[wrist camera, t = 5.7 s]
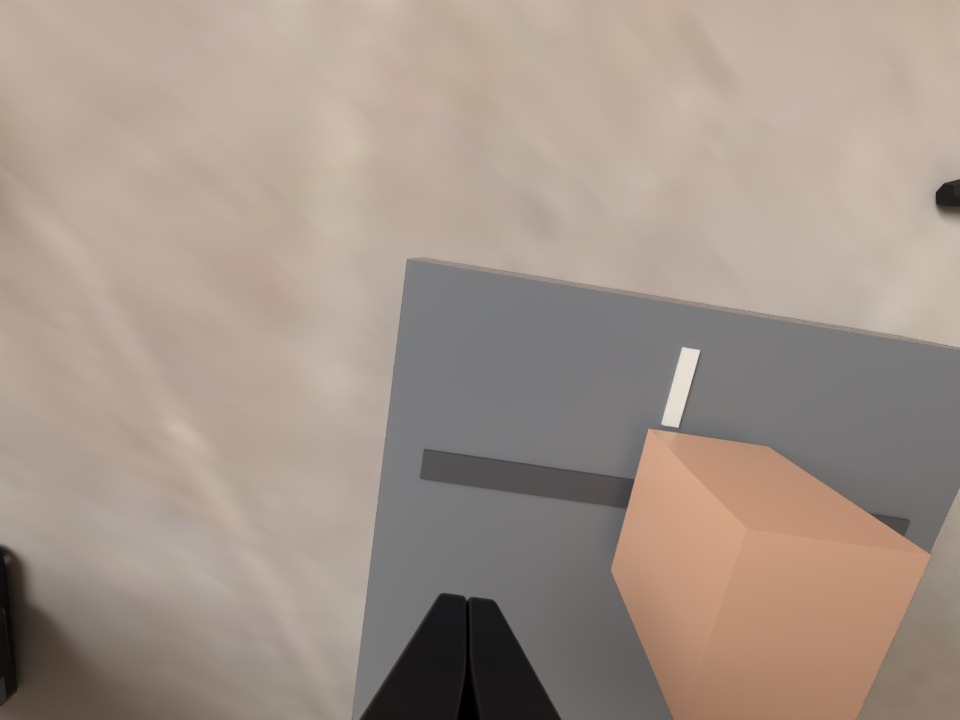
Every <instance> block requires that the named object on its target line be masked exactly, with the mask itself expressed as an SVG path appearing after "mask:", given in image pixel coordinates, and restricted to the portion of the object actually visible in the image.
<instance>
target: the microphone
mask: <svg viewBox="0 0 960 720" xmlns="http://www.w3.org/2000/svg"><path fill="white" fill-rule="evenodd" d="M936 199H937V204H941V205H944V206H960V179H959V180H955V181H951V182H947V183H944V184H943V185H942V186H941V187H940V188H939V190H938V191H937V192H936Z"/></svg>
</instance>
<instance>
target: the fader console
mask: <svg viewBox="0 0 960 720" xmlns="http://www.w3.org/2000/svg"><path fill="white" fill-rule="evenodd" d="M648 429H655V430H662V431H669V432H675V433H682V434H689V435H695V436H702V437H708V438H715V439H722V440H728V441H735V442H742V443H748V444H755V445H761V446H768V447H770V448H771V449H773V450H774V451H776V452H777V453H779V454H780V455H782V456H783V457H785V458H786V459H788V460H789V461H791V462H792V463H794V464H795V465H797V466H798V467H800V468H801V469H803V470H804V471H806V472H807V473H809V474H810V475H812V476H813V477H815V478H816V479H818V480H819V481H821V482H822V483H824V484H825V485H827V486H828V487H830V488H831V489H833V490H834V491H836V492H837V493H839V494H840V495H842V496H843V497H845V498H846V499H848V500H849V501H851V502H852V503H854V504H855V505H857V506H858V507H860V508H861V509H863V510H864V511H866V512H867V513H869V514H870V515H872V516H873V517H875V518H876V519H878V520H879V521H881V522H882V523H884V524H885V525H887V526H888V527H890V528H891V529H893V530H894V531H896V532H897V533H899V534H900V535H902V536H903V537H905V538H906V539H908V540H909V541H911V542H912V543H914V544H915V545H917V546H918V547H920V548H921V549H923V550H924V551H926V552H927V553H930V550H931V548H932V546H933V544H934V542H935V539H936V537H937V535H938V533H939V531H940V528H941V526H942V524H943V522H944V520H945V518H946V515H947V513H948V511H949V509H950V507H951V504H952V502H953V500H954V498H955V496H956V493H957V491H958V489H959V487H960V348H958V347H953V346H948V345H943V344H938V343H933V342H928V341H923V340H918V339H913V338H908V337H902V336H896V335H890V334H884V333H878V332H872V331H866V330H860V329H854V328H848V327H842V326H836V325H829V324H823V323H817V322H811V321H805V320H799V319H793V318H787V317H781V316H775V315H769V314H763V313H757V312H751V311H744V310H738V309H732V308H726V307H720V306H714V305H708V304H702V303H696V302H690V301H684V300H678V299H672V298H666V297H659V296H653V295H647V294H641V293H635V292H629V291H623V290H617V289H611V288H605V287H599V286H593V285H587V284H581V283H574V282H568V281H562V280H556V279H550V278H544V277H538V276H532V275H526V274H520V273H514V272H508V271H502V270H496V269H489V268H483V267H477V266H471V265H465V264H459V263H453V262H447V261H441V260H435V259H429V258H423V257H422V258H412V259H407V263H406V271H405V280H404V288H403V296H402V305H401V313H400V321H399V330H398V338H397V346H396V355H395V363H394V371H393V380H392V388H391V396H390V405H389V413H388V421H387V430H386V438H385V446H384V455H383V463H382V471H381V480H380V488H379V496H378V505H377V513H376V521H375V530H374V538H373V546H372V555H371V563H370V571H369V580H368V588H367V596H366V605H365V613H364V621H363V630H362V638H361V646H360V655H359V663H358V671H357V680H356V688H355V696H354V705H353V713H352V720H359V719H360V717H361V715H362V714H363V712H364V711H365V709H366V708H367V706H368V704H369V703H370V701H371V700H372V698H373V697H374V695H375V693H376V692H377V690H378V689H379V687H380V686H381V684H382V683H383V681H384V679H385V678H386V676H387V675H388V673H389V672H390V670H391V668H392V667H393V665H394V664H395V662H396V661H397V659H398V657H399V656H400V654H401V653H402V651H403V650H404V648H405V646H406V645H407V643H408V642H409V640H410V639H411V637H412V635H413V634H414V632H415V631H416V629H417V628H418V626H419V624H420V623H421V621H422V620H423V618H424V617H425V615H426V613H427V612H428V610H429V609H430V607H431V606H432V604H433V602H434V601H435V599H436V598H437V596H438V595H439V594H441V593H449V594H457V595H463V596H465V597H466V600H468V598H470V597H479V598H487V599H492V600H494V601H495V602H496V603H497V604H498V606H499V608H500V610H501V612H502V613H503V615H504V617H505V619H506V620H507V622H508V624H509V626H510V628H511V629H512V631H513V633H514V635H515V637H516V638H517V640H518V642H519V644H520V645H521V647H522V649H523V651H524V653H525V654H526V656H527V658H528V660H529V661H530V663H531V665H532V667H533V669H534V670H535V672H536V674H537V676H538V678H539V679H540V681H541V683H542V685H543V686H544V688H545V690H546V692H547V694H548V695H549V697H550V699H551V701H552V703H553V704H554V706H555V708H556V710H557V711H558V713H559V715H560V717H561V719H562V720H674V719H673V717H672V714H671V712H670V709H669V707H668V705H667V702H666V700H665V698H664V695H663V693H662V690H661V688H660V686H659V683H658V681H657V679H656V676H655V674H654V671H653V669H652V667H651V664H650V662H649V660H648V657H647V655H646V653H645V650H644V648H643V645H642V643H641V641H640V638H639V636H638V634H637V631H636V629H635V626H634V624H633V622H632V619H631V617H630V615H629V612H628V610H627V607H626V605H625V603H624V600H623V598H622V596H621V593H620V591H619V588H618V586H617V584H616V581H615V579H614V577H613V574H612V572H611V567H612V564H613V560H614V556H615V552H616V549H617V545H618V541H619V538H620V534H621V530H622V526H623V523H624V519H625V515H626V511H627V508H628V504H629V500H630V496H631V493H632V489H633V485H634V481H635V478H636V474H637V470H638V466H639V463H640V459H641V455H642V451H643V448H644V444H645V440H646V437H647V433H648Z"/></svg>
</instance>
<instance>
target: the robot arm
mask: <svg viewBox="0 0 960 720" xmlns="http://www.w3.org/2000/svg"><path fill="white" fill-rule="evenodd" d="M16 692H17V679H16V669H15V660H14V650H13V640H12V630H11V621H10V611H9V601H8V591H7V582H6V572H5V562H4V558H3V555H2V554H1V553H0V706H2V705H3V704H4V703H6V702H7V701H8V700H9V699H10V698H11V697H12V696H13V695H14V694H15V693H16ZM359 720H562V719H561V717H560V715H559V713H558V711H557V710H556V708H555V706H554V704H553V703H552V701H551V699H550V697H549V695H548V694H547V692H546V690H545V688H544V686H543V685H542V683H541V681H540V679H539V678H538V676H537V674H536V672H535V670H534V669H533V667H532V665H531V663H530V661H529V660H528V658H527V656H526V654H525V653H524V651H523V649H522V647H521V645H520V644H519V642H518V640H517V638H516V637H515V635H514V633H513V631H512V629H511V628H510V626H509V624H508V622H507V620H506V619H505V617H504V615H503V613H502V612H501V610H500V608H499V606H498V604H497V603H496V602H495V601H494V600H492V599H487V598H479V597H470V598H468V600H466V597H465V596H463V595H457V594H449V593H441V594H439V595H438V596H437V598H436V599H435V601H434V602H433V604H432V606H431V607H430V609H429V610H428V612H427V613H426V615H425V617H424V618H423V620H422V621H421V623H420V624H419V626H418V628H417V629H416V631H415V632H414V634H413V635H412V637H411V639H410V640H409V642H408V643H407V645H406V646H405V648H404V650H403V651H402V653H401V654H400V656H399V657H398V659H397V661H396V662H395V664H394V665H393V667H392V668H391V670H390V672H389V673H388V675H387V676H386V678H385V679H384V681H383V683H382V684H381V686H380V687H379V689H378V690H377V692H376V693H375V695H374V697H373V698H372V700H371V701H370V703H369V704H368V706H367V708H366V709H365V711H364V712H363V714H362V715H361V717H360V719H359Z"/></svg>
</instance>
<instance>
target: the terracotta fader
mask: <svg viewBox="0 0 960 720" xmlns="http://www.w3.org/2000/svg"><path fill="white" fill-rule="evenodd" d="M931 556H932V555H930V554H929V553H927V552H926V551H924V550H923V549H921V548H920V547H918V546H917V545H915V544H914V543H912V542H911V541H909V540H908V539H906V538H905V537H903V536H902V535H900V534H899V533H897V532H896V531H894V530H893V529H891V528H890V527H888V526H887V525H885V524H884V523H882V522H881V521H879V520H878V519H876V518H875V517H873V516H872V515H870V514H869V513H867V512H866V511H864V510H863V509H861V508H860V507H858V506H857V505H855V504H854V503H852V502H851V501H849V500H848V499H846V498H845V497H843V496H842V495H840V494H839V493H837V492H836V491H834V490H833V489H831V488H830V487H828V486H827V485H825V484H824V483H822V482H821V481H819V480H818V479H816V478H815V477H813V476H812V475H810V474H809V473H807V472H806V471H804V470H803V469H801V468H800V467H798V466H797V465H795V464H794V463H792V462H791V461H789V460H788V459H786V458H785V457H783V456H782V455H780V454H779V453H777V452H776V451H774V450H773V449H771V448H770V447H768V446H761V445H755V444H748V443H742V442H735V441H728V440H722V439H715V438H708V437H702V436H695V435H689V434H682V433H675V432H669V431H662V430H655V429H648V433H647V437H646V440H645V444H644V448H643V451H642V455H641V459H640V463H639V466H638V470H637V474H636V478H635V481H634V485H633V489H632V493H631V496H630V500H629V504H628V508H627V511H626V515H625V519H624V523H623V526H622V530H621V534H620V538H619V541H618V545H617V549H616V552H615V556H614V560H613V564H612V567H611V572H612V574H613V577H614V579H615V581H616V584H617V586H618V588H619V591H620V593H621V596H622V598H623V600H624V603H625V605H626V607H627V610H628V612H629V615H630V617H631V619H632V622H633V624H634V626H635V629H636V631H637V634H638V636H639V638H640V641H641V643H642V645H643V648H644V650H645V653H646V655H647V657H648V660H649V662H650V664H651V667H652V669H653V671H654V674H655V676H656V679H657V681H658V683H659V686H660V688H661V690H662V693H663V695H664V698H665V700H666V702H667V705H668V707H669V709H670V712H671V714H672V717H673V719H674V720H856V719H857V717H858V715H859V712H860V710H861V708H862V706H863V704H864V701H865V699H866V697H867V695H868V693H869V691H870V688H871V686H872V684H873V682H874V680H875V678H876V675H877V673H878V671H879V669H880V667H881V664H882V662H883V660H884V658H885V656H886V654H887V651H888V649H889V647H890V645H891V643H892V640H893V638H894V636H895V634H896V632H897V630H898V627H899V625H900V623H901V621H902V619H903V617H904V614H905V612H906V610H907V608H908V606H909V603H910V601H911V599H912V597H913V595H914V593H915V590H916V588H917V586H918V584H919V582H920V580H921V577H922V575H923V573H924V571H925V569H926V566H927V564H928V562H929V560H930V558H931Z"/></svg>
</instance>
